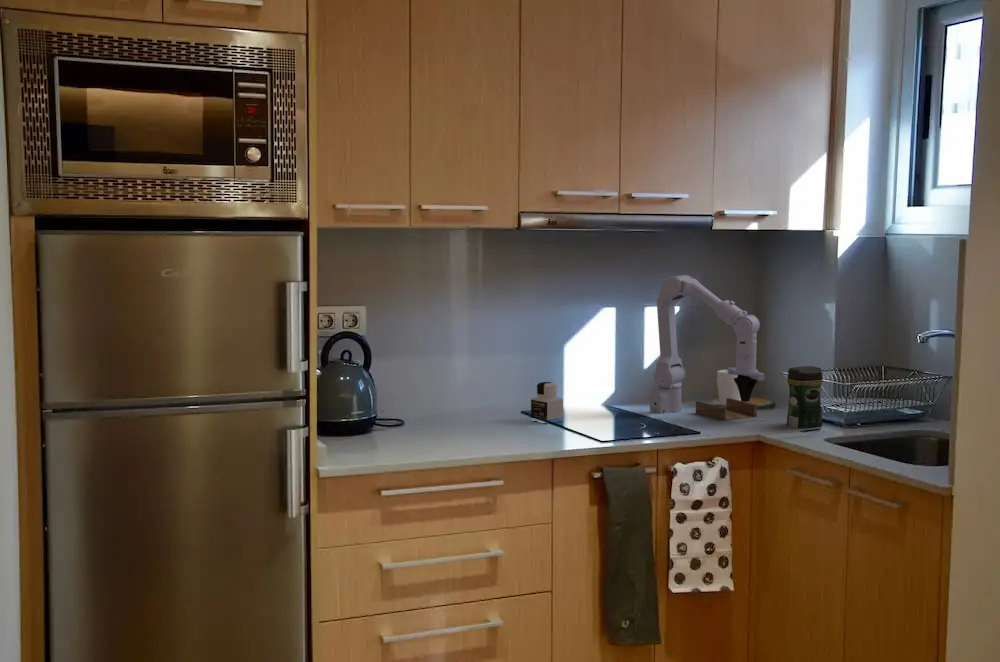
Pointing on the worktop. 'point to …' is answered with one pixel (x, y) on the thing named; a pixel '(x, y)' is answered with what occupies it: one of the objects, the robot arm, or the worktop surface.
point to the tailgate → (745, 420)
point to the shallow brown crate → (727, 410)
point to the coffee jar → (805, 398)
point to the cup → (727, 387)
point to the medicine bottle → (546, 402)
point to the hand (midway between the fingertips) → (745, 401)
